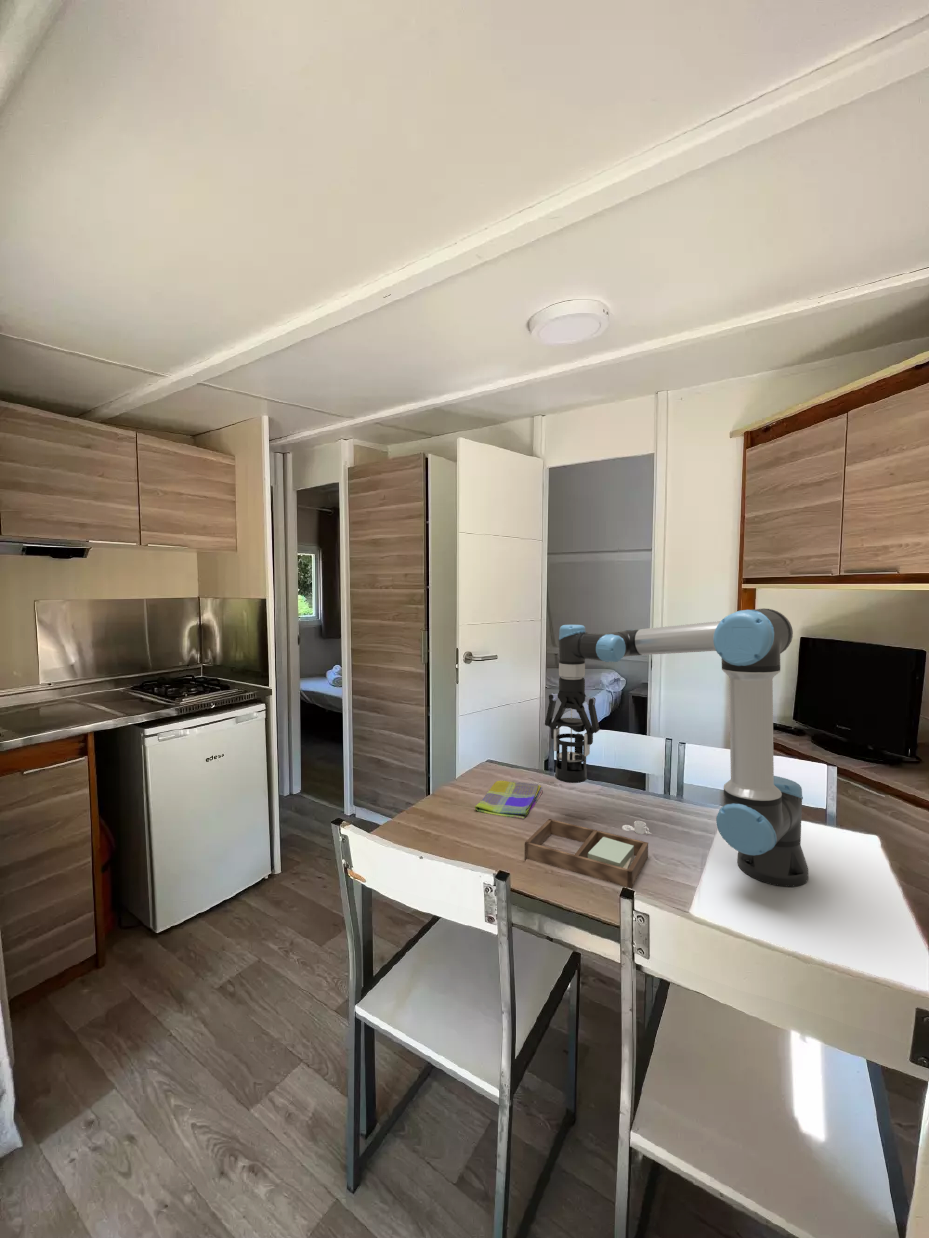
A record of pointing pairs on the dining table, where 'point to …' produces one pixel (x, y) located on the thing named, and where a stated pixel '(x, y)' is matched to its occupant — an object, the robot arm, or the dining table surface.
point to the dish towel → (510, 799)
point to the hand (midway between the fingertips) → (571, 752)
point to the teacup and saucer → (637, 827)
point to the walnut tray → (585, 852)
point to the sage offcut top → (611, 852)
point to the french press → (571, 752)
